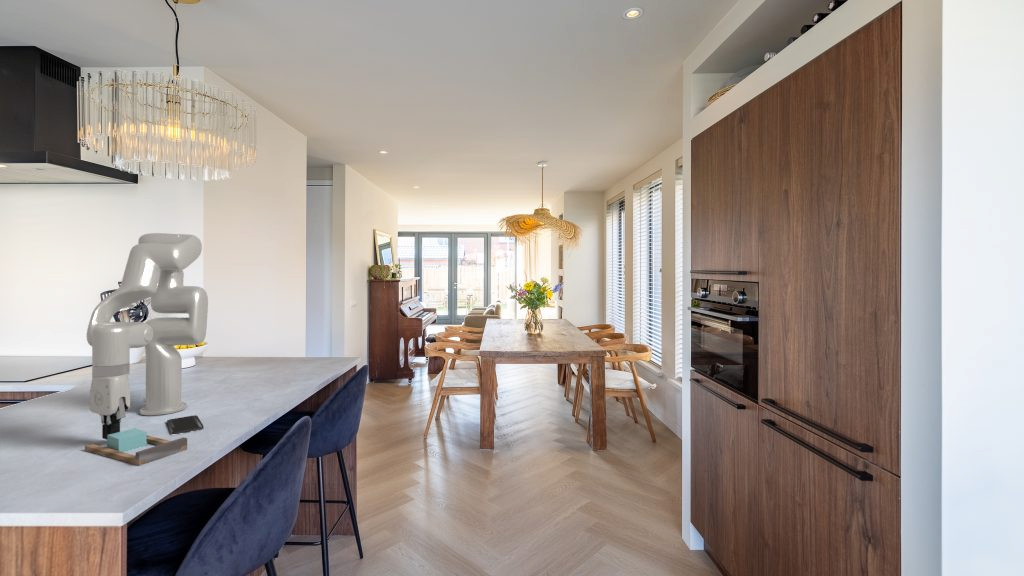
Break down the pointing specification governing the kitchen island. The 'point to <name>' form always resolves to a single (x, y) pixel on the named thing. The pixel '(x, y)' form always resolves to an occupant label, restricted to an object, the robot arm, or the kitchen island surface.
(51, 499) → the kitchen island surface
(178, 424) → the phone
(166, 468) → the kitchen island surface
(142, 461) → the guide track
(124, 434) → the block
